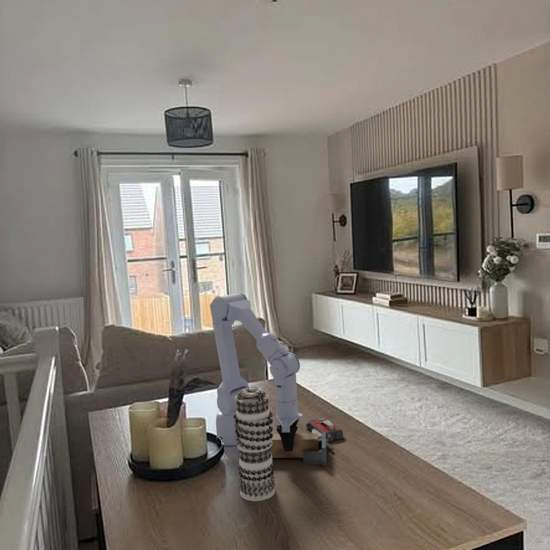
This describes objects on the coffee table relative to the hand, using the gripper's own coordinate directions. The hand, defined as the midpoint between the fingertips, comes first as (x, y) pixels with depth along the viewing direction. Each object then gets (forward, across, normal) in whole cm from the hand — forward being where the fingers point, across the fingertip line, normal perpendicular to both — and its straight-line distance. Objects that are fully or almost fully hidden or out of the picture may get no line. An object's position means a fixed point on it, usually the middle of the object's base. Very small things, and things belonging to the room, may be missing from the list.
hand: (289, 447), depth 140 cm
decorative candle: (+3, -18, +6) cm, 19 cm away
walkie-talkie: (+3, +13, -10) cm, 17 cm away
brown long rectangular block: (+2, 0, 0) cm, 2 cm away
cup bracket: (+3, 0, -7) cm, 8 cm away
